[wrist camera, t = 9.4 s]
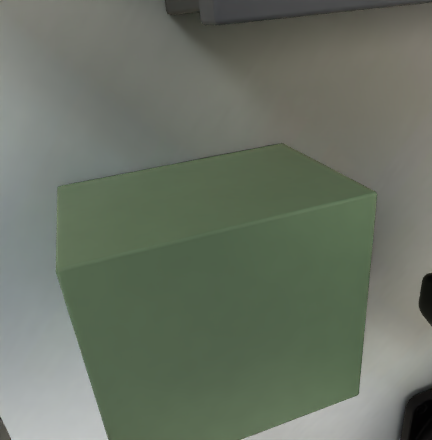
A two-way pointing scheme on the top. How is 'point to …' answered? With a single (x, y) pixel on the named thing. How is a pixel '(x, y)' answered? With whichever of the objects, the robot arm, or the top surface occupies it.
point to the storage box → (271, 8)
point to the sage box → (217, 292)
